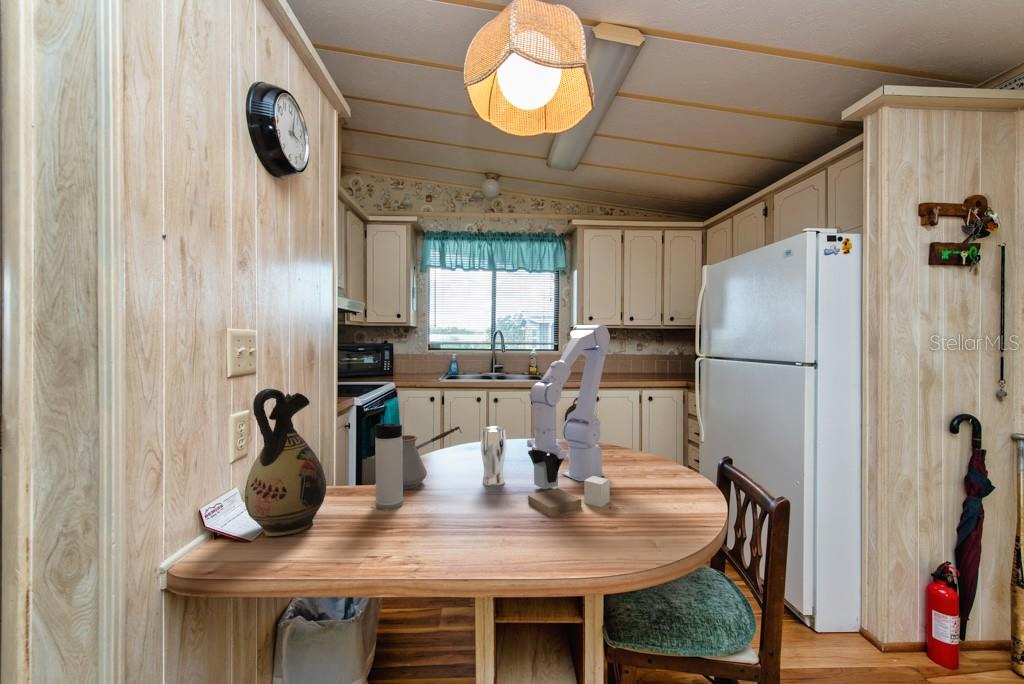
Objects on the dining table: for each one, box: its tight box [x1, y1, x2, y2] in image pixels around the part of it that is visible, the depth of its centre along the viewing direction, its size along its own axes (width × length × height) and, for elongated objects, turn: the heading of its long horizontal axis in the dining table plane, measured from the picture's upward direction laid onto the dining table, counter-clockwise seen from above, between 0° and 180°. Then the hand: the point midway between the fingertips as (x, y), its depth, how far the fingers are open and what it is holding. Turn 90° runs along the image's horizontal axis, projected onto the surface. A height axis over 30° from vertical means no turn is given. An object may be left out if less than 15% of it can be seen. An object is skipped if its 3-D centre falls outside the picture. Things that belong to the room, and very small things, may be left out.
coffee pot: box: [402, 426, 463, 490], centre depth 120 cm, size 21×12×15 cm, turn 107°
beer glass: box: [480, 425, 507, 487], centre depth 119 cm, size 7×7×15 cm
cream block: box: [583, 476, 611, 508], centre depth 105 cm, size 4×4×6 cm
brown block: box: [527, 487, 582, 517], centre depth 103 cm, size 9×9×2 cm
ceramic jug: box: [244, 388, 327, 537], centre depth 91 cm, size 17×15×30 cm
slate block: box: [533, 462, 559, 490], centre depth 114 cm, size 4×4×6 cm
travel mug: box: [374, 423, 404, 511], centre depth 104 cm, size 6×7×20 cm
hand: (546, 479), depth 114 cm, fingers closed on slate block, 4 cm apart
